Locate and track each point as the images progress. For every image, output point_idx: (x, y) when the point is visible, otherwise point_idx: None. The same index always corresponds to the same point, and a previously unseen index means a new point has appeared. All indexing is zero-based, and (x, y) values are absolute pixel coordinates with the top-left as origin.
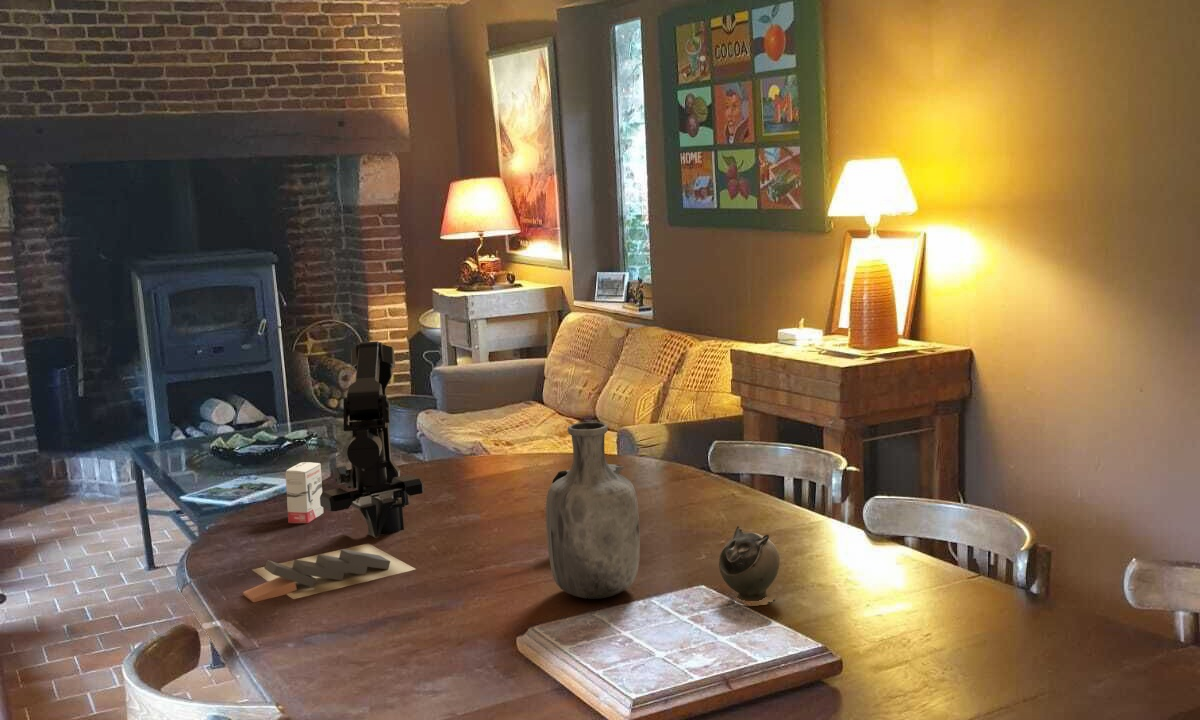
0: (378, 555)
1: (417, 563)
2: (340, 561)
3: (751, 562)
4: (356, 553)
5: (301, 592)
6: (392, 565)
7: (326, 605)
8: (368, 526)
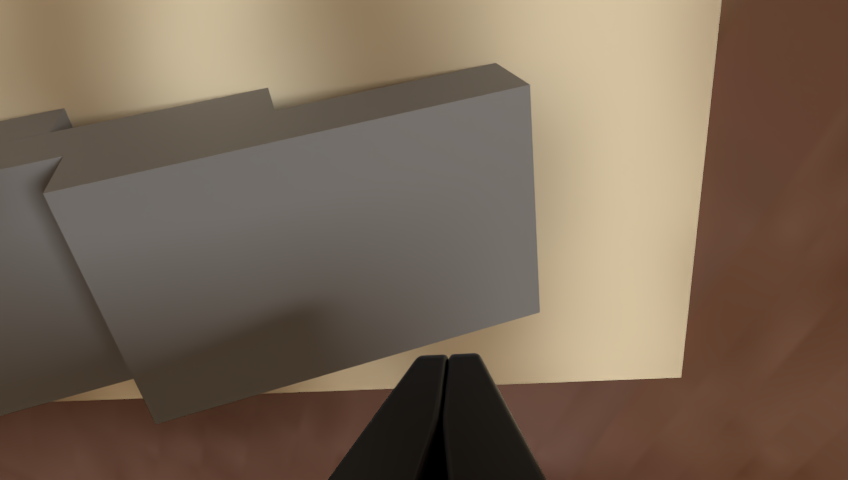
0: (511, 113)
1: (841, 128)
2: (70, 351)
3: None
4: (229, 268)
5: None
6: (582, 205)
7: (66, 473)
8: (345, 459)
